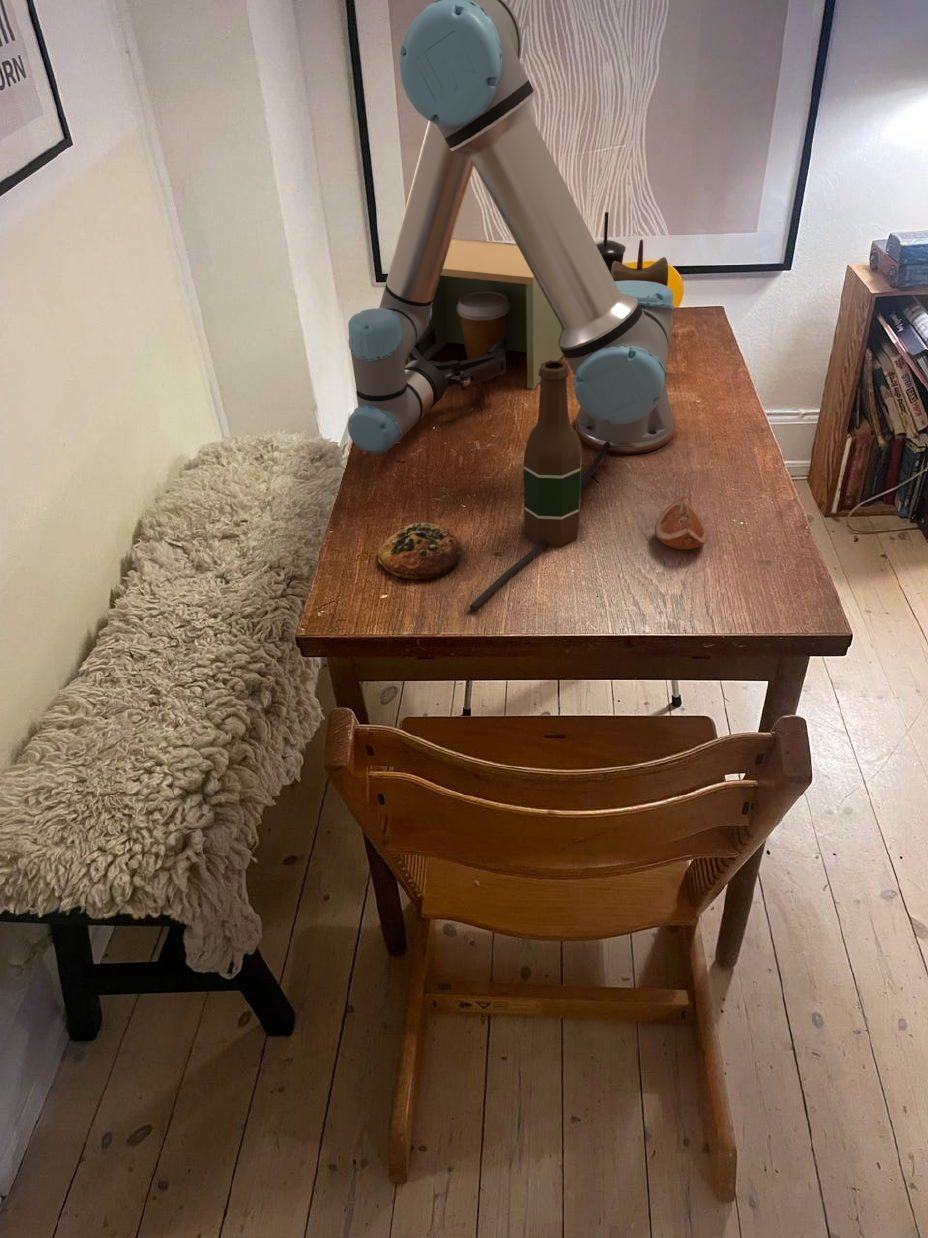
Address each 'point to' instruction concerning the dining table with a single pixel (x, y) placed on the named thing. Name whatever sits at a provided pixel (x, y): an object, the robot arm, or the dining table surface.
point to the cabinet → (501, 272)
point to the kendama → (641, 270)
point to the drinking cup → (610, 248)
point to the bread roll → (420, 552)
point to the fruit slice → (680, 526)
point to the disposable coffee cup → (482, 320)
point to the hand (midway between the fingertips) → (468, 339)
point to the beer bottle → (552, 464)
